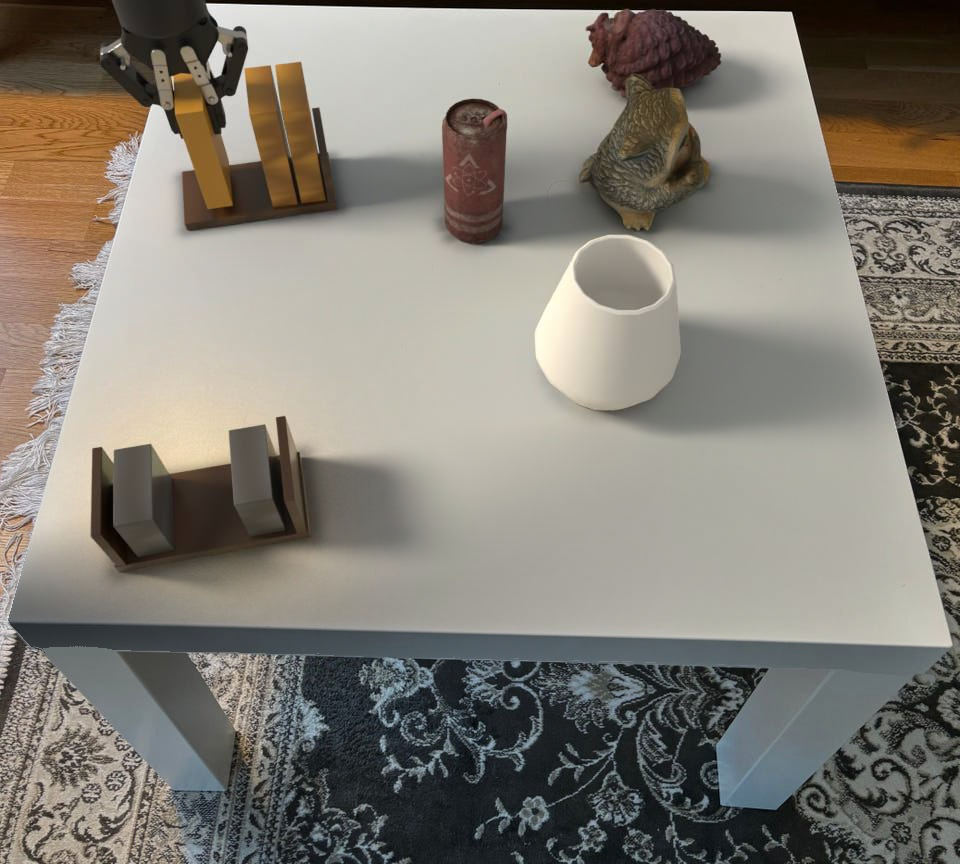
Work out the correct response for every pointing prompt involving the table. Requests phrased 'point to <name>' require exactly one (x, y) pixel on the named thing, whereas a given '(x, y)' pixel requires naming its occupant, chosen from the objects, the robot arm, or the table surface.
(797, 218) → the table surface
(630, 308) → the cup
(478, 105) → the can
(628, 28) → the pine cone
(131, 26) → the robot arm
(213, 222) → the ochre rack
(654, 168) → the figurine
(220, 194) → the ochre book
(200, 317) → the table surface
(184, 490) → the brown book rack
